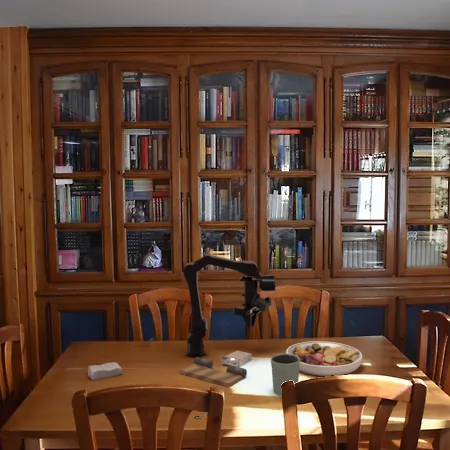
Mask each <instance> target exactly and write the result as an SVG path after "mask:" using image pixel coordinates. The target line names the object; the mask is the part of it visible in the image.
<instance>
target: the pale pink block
mask: <svg viewBox="0 0 450 450" xmlns="http://www.w3.org/2000/svg"><path fill="white" fill-rule="evenodd" d="M251 360H253V359H252V353H249V352H246V351H241V350H235V351H233V352H231V353H229V354H227V355H223V356H222V357H221V365H224V366H227V367H228V366H229V365H232V366H236V367H240V368H242V366H244V365H247V364H248V363H249V362H251Z"/></svg>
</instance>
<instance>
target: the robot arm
mask: <svg viewBox="0 0 450 450" xmlns="http://www.w3.org/2000/svg"><path fill="white" fill-rule="evenodd" d="M257 264H258V263H256V261H254V260H244V259H243V260H235V259H231V258H226V257H222V256H217V255H212V254H210V253H206V254H204V255H203V256H201V257H200V258H197V260H195V261H191V262H188V263H186V265H185V266H184V268H183V270H182V271H183V272H182V273H183V276H184V279H185V282H186V284H187V286H188V290H189V291H188V292H189V299H190V305H191V313H192V330H191V331H190V332H189V334H188V336H187V340H186V341H187V353H184V355H185V356H187V357H190V358H191V357H192V358H194V359H195V358H196V357H199V358H201V357H202V356H205V355H206V354H207V353H206V352H205V344H204V340H203V339H204V338H205V337H206V334H207V332H208V329H209V324H208V318H207V317H205V318H204V316H203V312H202V304H201V298H200V297H201V296H200V291H199V284H198V281H199V280H198V279H199V272H200V271H201V270H202V269H204V268H205V267H207V266H208V265H211V266H215V267H219V268H220V267H221V268H223V269H227V270H232V271H233V270H234V271H236V272H238V273H240V274H242V276H241V277H239V281H240V282H243V293H242V294H241V296H242V297H243V302H242V303H241V306H240V305H239V306H236V307H234V308H233V309H232V311H233V312H232V313H233V315H235V316H240V317H242V319H243V320H244V323H245V324H246V326H247V328H248V329H251V328H254V327H255V326H256V325H255V324H256V321H257V318H258V316H259V314H260V313H261V312H266V311H269V309H270V306H272V298H271V297H269V296H267V297H265V298H264V297H262V296H261V293H259V292H258V291H259V290H261V292H276V281H275V280H276V279H275V278H276V277H275V274H268V275H265V274H264V275H263V274H262V273H261V271H259V268H258V265H257Z"/></svg>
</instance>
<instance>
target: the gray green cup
mask: <svg viewBox="0 0 450 450" xmlns="http://www.w3.org/2000/svg"><path fill="white" fill-rule="evenodd" d="M299 364H300V358H299V357H298V356H296V355H292V354H286V353H277V354H275V355H273V356H271V357H270V366H271V375H272V376H271V377H272V391H273V393H274V395H275V394H276V395H277V394H278V395H277V396H280V395H281V384H282V383H283V382H285V381H289V380H293V381H294V383H296V382H298V383H299V377H300V376H299V375H300V371H299ZM279 394H280V395H279Z"/></svg>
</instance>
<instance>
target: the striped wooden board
mask: <svg viewBox="0 0 450 450" xmlns="http://www.w3.org/2000/svg"><path fill="white" fill-rule="evenodd" d="M213 366H214V361H213V360H211V359H207V358H204V357H196V358H195V357H194V360H193V363H192V364H190V365H187V366H186V367H183V368H181V369H180V370H179V371H180V374H179V375H184V376H187V377H192V378H195V379H197V380H202V381H205V382H210V383H211V384H217V385H220V386H224V387H226V388H231V387H232V386H233V385H235V384H238V383H239V382H240V381H242V380H243V379H245V378H246V377H247V374H248V370H247V369H246V368H244V367H236V366H232V365H229V366H227V367H226V370H225V371H221V370H217V369H213Z"/></svg>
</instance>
